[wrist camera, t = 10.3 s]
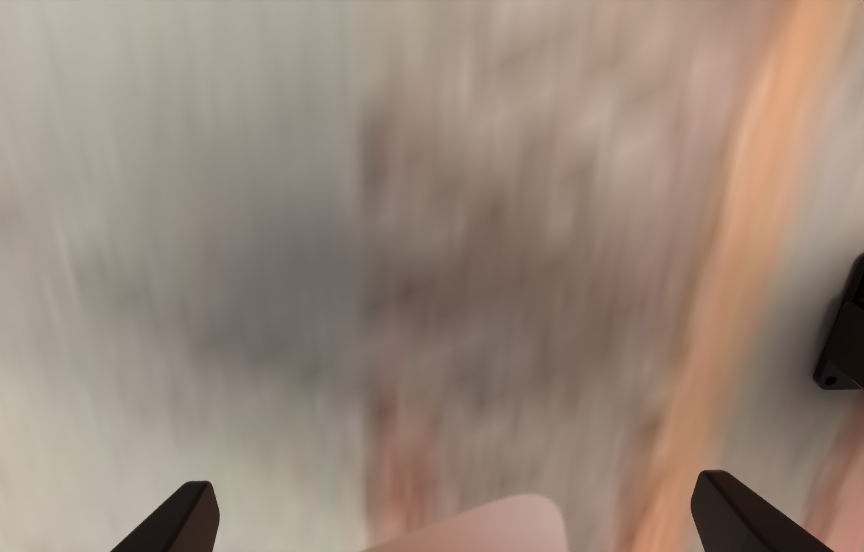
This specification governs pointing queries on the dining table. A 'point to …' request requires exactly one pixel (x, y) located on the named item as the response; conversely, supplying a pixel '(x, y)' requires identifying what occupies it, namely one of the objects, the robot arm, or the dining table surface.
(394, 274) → the dining table surface
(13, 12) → the dining table surface
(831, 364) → the robot arm
